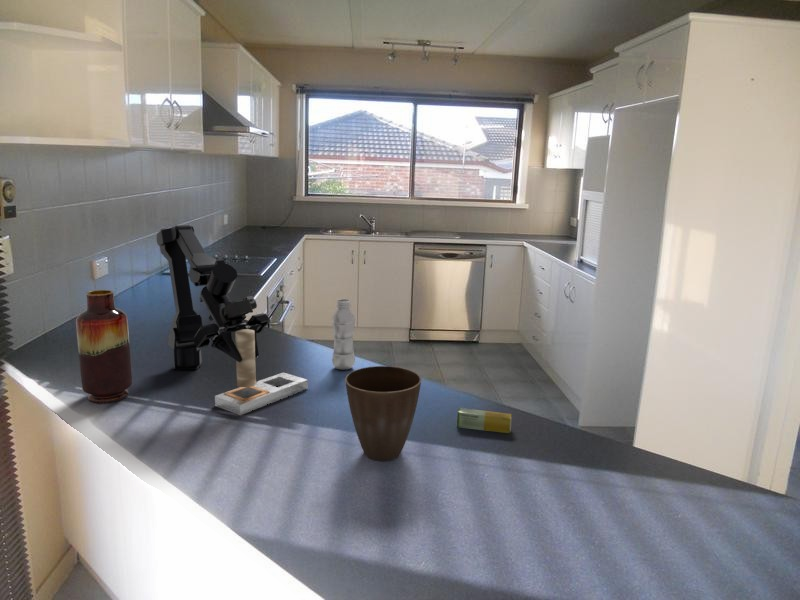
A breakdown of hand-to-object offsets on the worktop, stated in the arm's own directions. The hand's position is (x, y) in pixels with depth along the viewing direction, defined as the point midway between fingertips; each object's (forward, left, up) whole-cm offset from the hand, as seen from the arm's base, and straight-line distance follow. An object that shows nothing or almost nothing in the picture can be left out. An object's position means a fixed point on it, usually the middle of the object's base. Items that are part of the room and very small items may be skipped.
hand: (249, 359), depth 142 cm
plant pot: (+29, -28, -12) cm, 42 cm away
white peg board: (+3, +5, -11) cm, 13 cm away
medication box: (+53, -17, -12) cm, 57 cm away
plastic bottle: (+23, +25, -12) cm, 36 cm away
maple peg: (-1, +1, -7) cm, 7 cm away
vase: (-35, +7, -12) cm, 38 cm away
